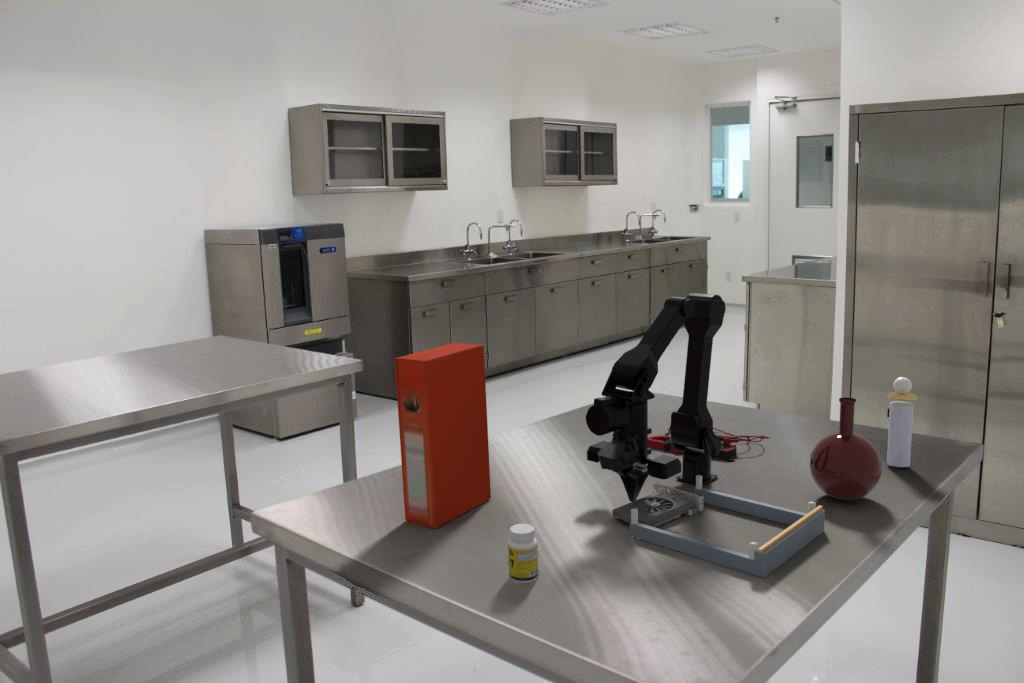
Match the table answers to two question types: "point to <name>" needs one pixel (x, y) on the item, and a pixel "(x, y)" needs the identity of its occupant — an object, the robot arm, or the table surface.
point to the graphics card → (660, 506)
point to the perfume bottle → (900, 423)
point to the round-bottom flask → (845, 460)
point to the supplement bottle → (523, 554)
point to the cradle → (757, 560)
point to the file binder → (443, 432)
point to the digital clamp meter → (725, 453)
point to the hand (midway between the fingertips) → (632, 501)
